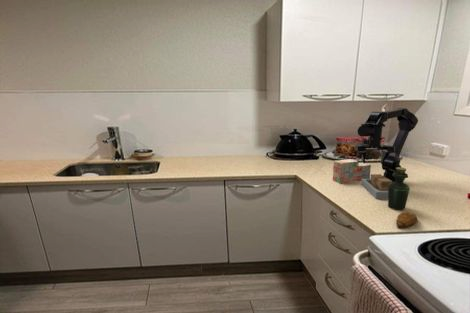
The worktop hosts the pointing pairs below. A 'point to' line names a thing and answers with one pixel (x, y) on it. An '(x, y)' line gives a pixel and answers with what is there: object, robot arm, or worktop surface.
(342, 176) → the stack of blocks
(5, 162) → the worktop surface
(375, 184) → the board
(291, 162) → the worktop surface
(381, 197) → the frame
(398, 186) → the potion bottle
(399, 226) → the croissant
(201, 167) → the worktop surface
